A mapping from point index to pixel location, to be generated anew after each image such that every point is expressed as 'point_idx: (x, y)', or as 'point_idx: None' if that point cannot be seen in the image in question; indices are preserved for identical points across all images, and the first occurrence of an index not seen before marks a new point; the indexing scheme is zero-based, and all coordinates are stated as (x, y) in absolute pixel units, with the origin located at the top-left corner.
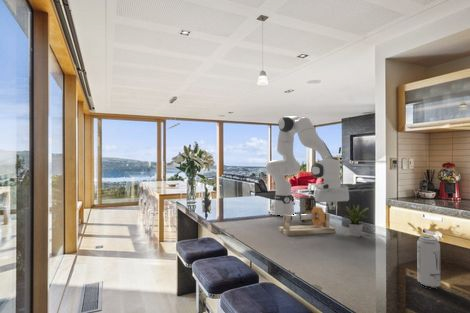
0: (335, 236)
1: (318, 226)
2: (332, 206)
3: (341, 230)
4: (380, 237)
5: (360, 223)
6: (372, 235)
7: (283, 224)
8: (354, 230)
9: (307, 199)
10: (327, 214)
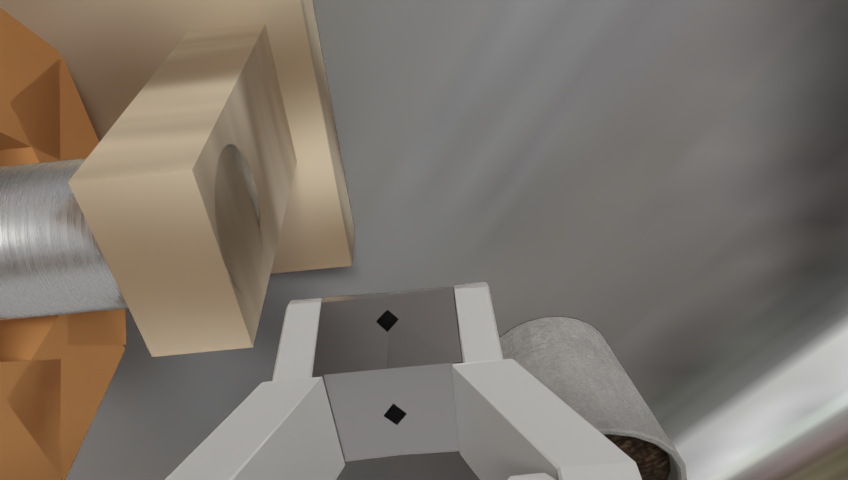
0: (271, 377)
1: (82, 89)
2: (395, 432)
3: (518, 139)
4: (738, 438)
5: (674, 471)
6: (729, 382)
7: None
8: None
9: None
10: (195, 337)
